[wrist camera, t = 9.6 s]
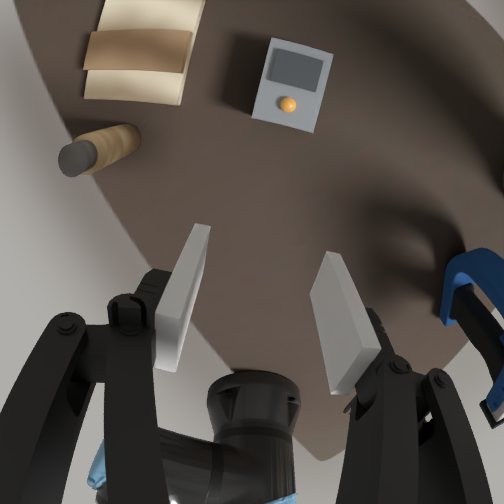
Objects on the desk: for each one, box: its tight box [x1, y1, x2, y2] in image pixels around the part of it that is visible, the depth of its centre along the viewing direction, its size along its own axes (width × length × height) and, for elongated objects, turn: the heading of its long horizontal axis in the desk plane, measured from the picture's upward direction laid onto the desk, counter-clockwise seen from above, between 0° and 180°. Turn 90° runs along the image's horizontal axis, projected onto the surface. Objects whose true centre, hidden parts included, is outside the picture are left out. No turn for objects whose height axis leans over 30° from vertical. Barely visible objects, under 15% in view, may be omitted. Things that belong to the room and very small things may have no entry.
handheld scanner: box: [439, 248, 504, 429], centre depth 25 cm, size 5×16×20 cm, turn 17°
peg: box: [58, 124, 141, 177], centre depth 21 cm, size 3×3×10 cm
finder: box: [252, 38, 333, 133], centre depth 21 cm, size 7×5×4 cm
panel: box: [83, 0, 206, 105], centre depth 20 cm, size 12×10×2 cm
